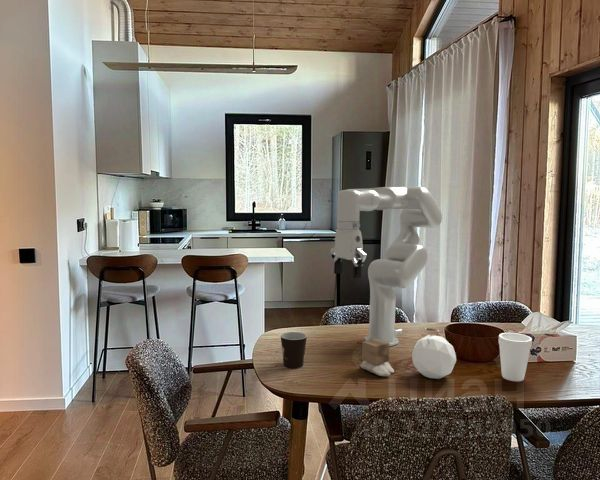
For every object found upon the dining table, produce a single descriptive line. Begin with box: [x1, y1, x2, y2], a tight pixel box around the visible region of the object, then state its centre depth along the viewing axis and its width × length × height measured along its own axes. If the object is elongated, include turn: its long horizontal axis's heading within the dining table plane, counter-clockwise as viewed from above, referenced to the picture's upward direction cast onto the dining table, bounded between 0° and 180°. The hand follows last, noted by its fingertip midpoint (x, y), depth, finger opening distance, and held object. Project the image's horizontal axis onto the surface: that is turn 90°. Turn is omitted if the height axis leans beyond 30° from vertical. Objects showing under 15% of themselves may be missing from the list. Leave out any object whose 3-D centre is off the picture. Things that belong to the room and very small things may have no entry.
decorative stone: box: [360, 360, 395, 377], centre depth 161 cm, size 11×4×15 cm
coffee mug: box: [280, 331, 308, 370], centre depth 166 cm, size 12×9×10 cm
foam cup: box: [497, 332, 533, 382], centre depth 155 cm, size 10×9×13 cm
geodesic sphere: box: [411, 333, 457, 380], centre depth 155 cm, size 14×14×14 cm
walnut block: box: [361, 339, 390, 365], centre depth 160 cm, size 6×6×6 cm
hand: (347, 275), depth 172 cm, fingers open, 9 cm apart
